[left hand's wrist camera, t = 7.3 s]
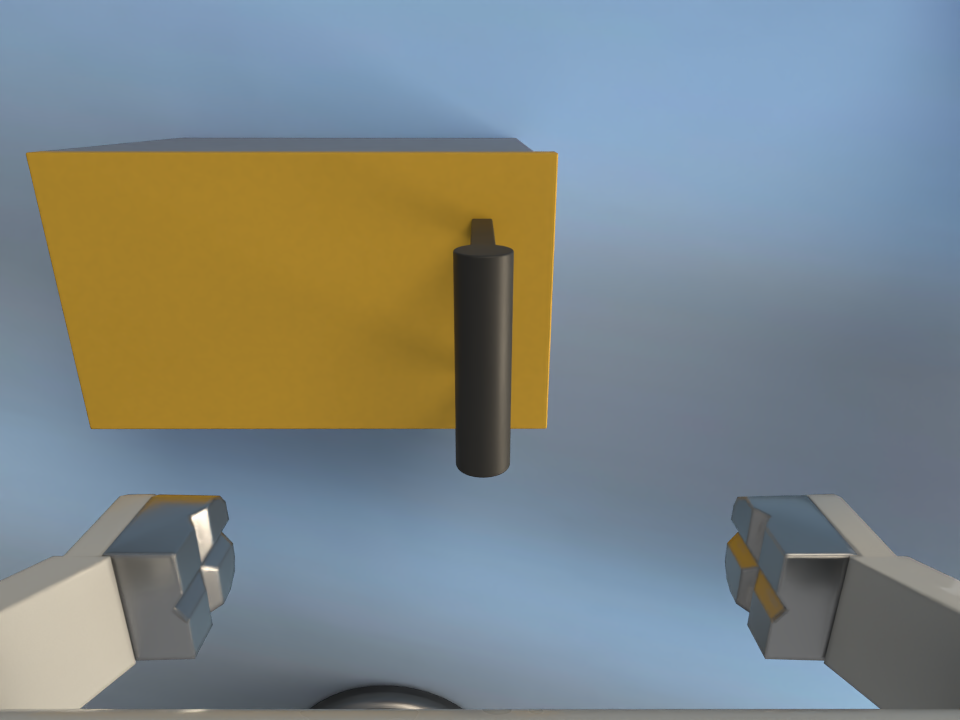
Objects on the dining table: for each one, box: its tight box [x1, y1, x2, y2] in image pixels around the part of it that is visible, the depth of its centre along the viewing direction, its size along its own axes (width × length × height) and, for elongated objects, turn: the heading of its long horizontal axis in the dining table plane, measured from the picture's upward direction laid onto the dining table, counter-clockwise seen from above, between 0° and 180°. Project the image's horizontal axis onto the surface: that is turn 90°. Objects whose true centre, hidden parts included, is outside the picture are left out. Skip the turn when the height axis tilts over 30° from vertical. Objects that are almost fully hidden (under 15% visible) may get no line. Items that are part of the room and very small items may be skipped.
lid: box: [26, 151, 558, 477], centre depth 20 cm, size 17×10×8 cm, turn 90°
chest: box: [50, 138, 534, 152], centre depth 29 cm, size 17×10×11 cm, turn 90°
